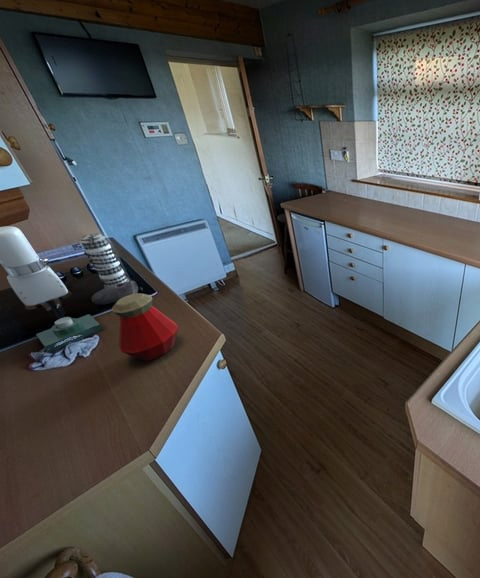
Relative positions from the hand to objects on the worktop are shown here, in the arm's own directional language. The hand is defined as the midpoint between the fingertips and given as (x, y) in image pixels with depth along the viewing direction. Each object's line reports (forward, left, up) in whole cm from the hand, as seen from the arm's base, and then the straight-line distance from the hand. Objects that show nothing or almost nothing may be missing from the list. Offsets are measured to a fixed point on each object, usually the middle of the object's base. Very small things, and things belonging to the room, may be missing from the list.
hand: (60, 316), depth 98 cm
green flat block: (0, 0, -8) cm, 8 cm away
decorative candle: (+7, +31, -8) cm, 33 cm away
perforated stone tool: (+9, +20, -8) cm, 23 cm away
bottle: (+28, -23, -8) cm, 37 cm away
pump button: (0, 0, -3) cm, 4 cm away
